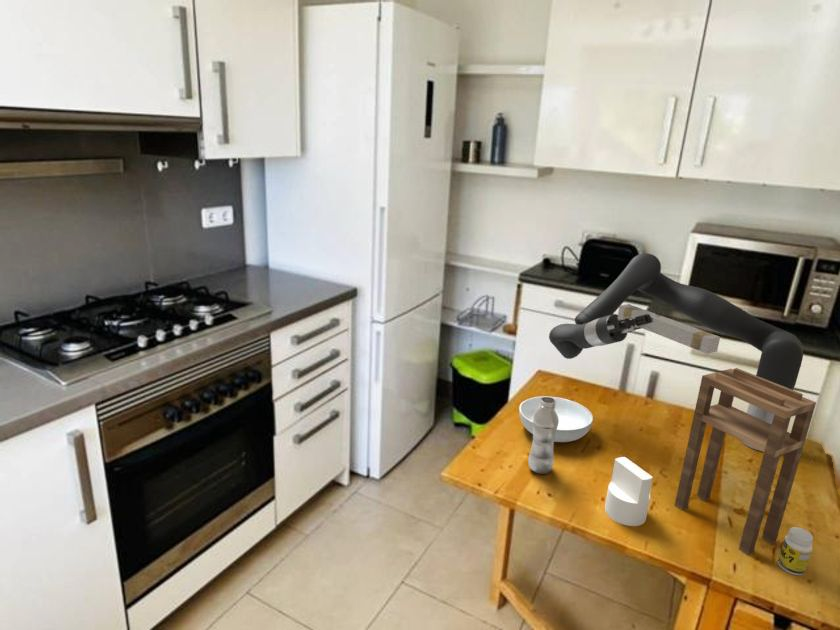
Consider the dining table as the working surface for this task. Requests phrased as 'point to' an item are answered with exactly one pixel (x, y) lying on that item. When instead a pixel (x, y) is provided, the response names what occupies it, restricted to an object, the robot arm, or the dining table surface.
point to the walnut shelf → (753, 433)
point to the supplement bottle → (796, 551)
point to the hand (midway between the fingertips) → (655, 317)
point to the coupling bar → (673, 329)
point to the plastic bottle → (543, 436)
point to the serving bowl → (560, 418)
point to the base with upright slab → (628, 493)
